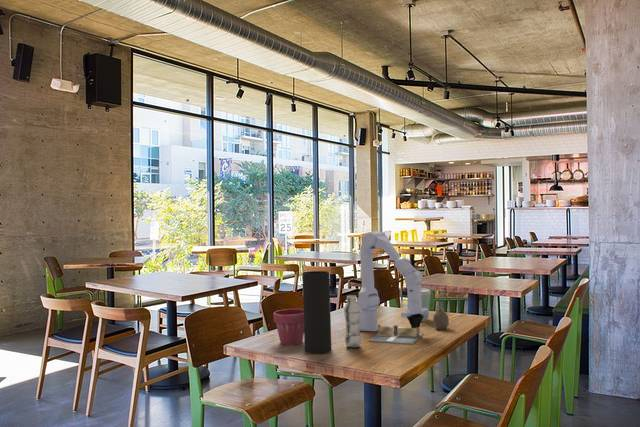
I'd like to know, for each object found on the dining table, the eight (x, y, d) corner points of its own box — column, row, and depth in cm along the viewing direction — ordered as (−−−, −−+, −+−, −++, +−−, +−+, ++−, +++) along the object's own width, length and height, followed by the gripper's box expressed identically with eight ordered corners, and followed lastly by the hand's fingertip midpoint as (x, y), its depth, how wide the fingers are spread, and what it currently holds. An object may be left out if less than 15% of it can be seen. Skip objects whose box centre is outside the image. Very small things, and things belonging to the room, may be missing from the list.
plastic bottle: (350, 350, 205) (348, 297, 205) (341, 346, 211) (340, 295, 211) (364, 347, 208) (363, 296, 208) (355, 344, 214) (354, 294, 214)
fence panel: (398, 335, 224) (397, 326, 224) (399, 334, 225) (398, 325, 225) (419, 336, 221) (419, 327, 221) (420, 336, 222) (419, 327, 222)
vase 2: (449, 330, 233) (448, 310, 233) (433, 330, 235) (432, 310, 235) (448, 327, 240) (448, 307, 240) (433, 327, 242) (432, 307, 242)
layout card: (369, 341, 218) (369, 340, 218) (382, 331, 235) (382, 330, 235) (412, 344, 211) (412, 343, 211) (423, 334, 228) (423, 332, 228)
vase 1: (310, 355, 199) (308, 274, 199) (300, 349, 208) (298, 272, 208) (335, 351, 203) (333, 272, 203) (324, 346, 212) (322, 270, 212)
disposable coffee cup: (435, 318, 260) (434, 287, 260) (427, 322, 251) (426, 290, 251) (414, 317, 266) (413, 286, 266) (406, 321, 257) (405, 289, 257)
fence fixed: (377, 335, 228) (377, 324, 228) (378, 334, 229) (378, 324, 229) (397, 337, 224) (396, 326, 224) (398, 336, 226) (397, 325, 226)
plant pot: (269, 341, 224) (268, 310, 224) (301, 337, 230) (300, 307, 230) (280, 348, 211) (279, 315, 211) (313, 344, 217) (312, 312, 217)
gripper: (409, 303, 218) (410, 336, 218) (433, 299, 227) (434, 331, 227) (397, 301, 224) (398, 334, 224) (420, 297, 232) (421, 328, 232)
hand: (415, 332), depth 226 cm, fingers closed
